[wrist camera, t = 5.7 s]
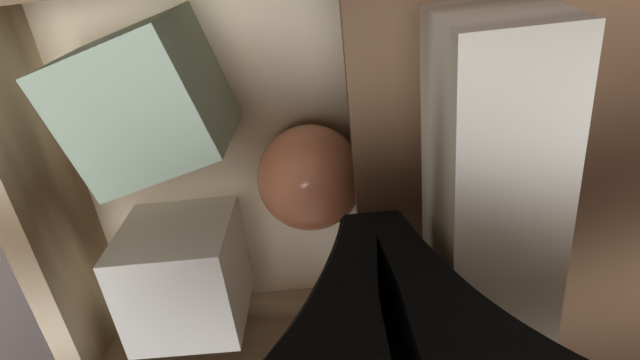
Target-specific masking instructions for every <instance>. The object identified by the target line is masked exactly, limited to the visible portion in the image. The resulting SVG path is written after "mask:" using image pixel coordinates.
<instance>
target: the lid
mask: <svg viewBox="0 0 640 360" xmlns="http://www.w3.org/2000/svg"><path fill="white" fill-rule="evenodd" d="M339 7H340V19H341V31H342V43H343V55H344V67H345V79H346V91H347V103H348V115H349V126H350V138H351V150H352V162H353V174H354V186H355V198H356V210H357V213H368V212H379V211H390V210H398V211H399V212H401V213H402V214H403V216H404V217H405V218H406V219H407V221H408V222H409V223H410V224H411V226H412V227H413V228H414V229H415V230H416V232H417V233H418V234H419V235H420V236H421V237H422V238H423V239H424V241H425V242H426V243H427V244H428V245H429V246H430V247H431V248H432V249H433V250H434V251H435V252H436V253H437V254H438V255H439V256H440V257H441V258H442V259H443V260H444V261H445V262H446V263H447V264H448V265H449V266H450V267H451V268H452V269H453V270H455V271H456V272H457V273H458V274H459V275H460V276H461V277H462V278H464V279H465V280H466V281H467V282H468V283H469V284H470V285H472V286H473V287H474V288H475V289H476V290H478V291H479V292H480V293H481V294H483V295H484V296H485V297H487V298H488V299H489V300H491V301H492V302H493V303H495V304H496V305H498V306H499V307H500V308H502V309H503V310H505V311H506V312H507V313H509V314H510V315H512V316H514V317H515V318H517V319H518V320H520V321H521V322H523V323H524V324H526V325H528V326H529V327H531V328H533V329H535V330H536V331H538V332H540V333H541V334H543V335H545V336H546V337H548V338H550V339H551V340H553V341H555V342H557V343H558V344H560V345H562V346H564V347H566V348H568V349H570V350H571V351H573V352H575V353H577V354H579V355H581V356H583V357H585V358H587V359H589V360H640V0H339Z"/></svg>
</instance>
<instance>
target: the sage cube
mask: <svg viewBox="0 0 640 360" xmlns="http://www.w3.org/2000/svg"><path fill="white" fill-rule="evenodd" d="M16 82H17V83H18V85H19V86H20V88H21V89H22V91H23V92H24V93H25V95H26V96H27V98H28V99H29V101H30V102H31V104H32V105H33V107H34V108H35V110H36V111H37V113H38V114H39V116H40V117H41V119H42V120H43V122H44V123H45V125H46V126H47V127H48V129H49V130H50V132H51V133H52V135H53V136H54V138H55V139H56V141H57V142H58V144H59V145H60V147H61V148H62V150H63V151H64V153H65V154H66V156H67V157H68V159H69V160H70V161H71V163H72V164H73V166H74V167H75V169H76V170H77V172H78V173H79V175H80V176H81V178H82V179H83V181H84V182H85V184H86V185H87V187H88V188H89V190H90V191H91V193H92V194H93V196H94V197H95V198H96V200H97V201H98V203H99V204H100V205H101V204H103V203H106V202H109V201H112V200H114V199H117V198H120V197H123V196H125V195H128V194H131V193H134V192H137V191H139V190H142V189H145V188H148V187H150V186H153V185H156V184H159V183H161V182H164V181H167V180H170V179H172V178H175V177H178V176H181V175H183V174H186V173H189V172H192V171H194V170H197V169H200V168H203V167H205V166H208V165H211V164H214V163H216V162H219V161H222V160H223V158H224V156H225V153H226V151H227V148H228V146H229V144H230V141H231V139H232V136H233V134H234V131H235V129H236V126H237V124H238V121H239V119H240V116H241V114H242V111H241V109H240V107H239V105H238V103H237V101H236V99H235V97H234V94H233V92H232V90H231V88H230V86H229V84H228V82H227V80H226V78H225V76H224V74H223V72H222V69H221V67H220V65H219V63H218V61H217V59H216V57H215V55H214V53H213V51H212V49H211V46H210V44H209V42H208V40H207V38H206V36H205V34H204V32H203V30H202V28H201V26H200V24H199V21H198V19H197V17H196V15H195V13H194V11H193V9H192V7H191V5H190V3H189V1H186V2H184V3H182V4H179V5H177V6H175V7H172V8H170V9H168V10H165V11H163V12H161V13H158V14H156V15H154V16H151V17H149V18H146V19H144V20H142V21H139V22H137V23H135V24H132V25H130V26H128V27H125V28H123V29H121V30H118V31H116V32H114V33H111V34H109V35H106V36H104V37H102V38H99V39H97V40H95V41H92V42H90V43H88V44H85V45H83V46H81V47H79V48H77V49H75V50H73V51H71V52H69V53H67V54H65V55H63V56H61V57H59V58H57V59H55V60H53V61H51V62H49V63H48V64H46V65H44V66H42V67H40V68H38V69H36V70H34V71H32V72H30V73H28V74H26V75H24V76H22V77H20V78H18V79H16Z"/></svg>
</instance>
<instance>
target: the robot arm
mask: <svg viewBox="0 0 640 360" xmlns="http://www.w3.org/2000/svg"><path fill="white" fill-rule="evenodd" d="M263 360H589V359H587V358H585V357H583V356H581V355H579V354H577V353H575V352H573V351H571V350H570V349H568V348H566V347H564V346H562V345H560V344H558V343H557V342H555V341H553V340H551V339H550V338H548V337H546V336H545V335H543V334H541V333H540V332H538V331H536V330H535V329H533V328H531V327H529V326H528V325H526V324H524V323H523V322H521V321H520V320H518V319H517V318H515V317H514V316H512V315H510V314H509V313H507V312H506V311H505V310H503V309H502V308H500V307H499V306H498V305H496V304H495V303H493V302H492V301H491V300H489V299H488V298H487V297H485V296H484V295H483V294H481V293H480V292H479V291H478V290H476V289H475V288H474V287H473V286H472V285H470V284H469V283H468V282H467V281H466V280H465V279H464V278H462V277H461V276H460V275H459V274H458V273H457V272H456V271H455V270H453V269H452V268H451V267H450V266H449V265H448V264H447V263H446V262H445V261H444V260H443V259H442V258H441V257H440V256H439V255H438V254H437V253H436V252H435V251H434V250H433V249H432V248H431V247H430V246H429V245H428V244H427V243H426V242H425V241H424V239H423V238H422V237H421V236H420V235H419V234H418V233H417V232H416V230H415V229H414V228H413V227H412V226H411V224H410V223H409V222H408V221H407V219H406V218H405V217H404V216H403V214H402V213H401V212H399V211H398V210H390V211H379V212H368V213H357V214H346V215H344V216H343V217H342V218H341V219H340V224H339V229H338V233H337V236H336V239H335V242H334V245H333V247H332V250H331V252H330V255H329V257H328V259H327V261H326V264H325V266H324V268H323V270H322V272H321V274H320V276H319V278H318V280H317V282H316V284H315V285H314V287H313V289H312V291H311V293H310V295H309V296H308V298H307V300H306V301H305V303H304V305H303V306H302V308H301V309H300V311H299V312H298V314H297V316H296V317H295V318H294V320H293V321H292V323H291V324H290V326H289V327H288V328H287V330H286V331H285V332H284V334H283V335H282V336H281V337H280V339H279V340H278V341H277V343H276V344H275V345H274V346H273V348H272V349H271V350H270V351H269V353H268V354H267V355H266V356H265V357H264V358H263Z"/></svg>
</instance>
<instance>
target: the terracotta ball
mask: <svg viewBox="0 0 640 360" xmlns="http://www.w3.org/2000/svg"><path fill="white" fill-rule="evenodd" d="M257 185H258V190H259V194H260V197H261V199H262V201H263V203H264V205H265V206H266V208H267V209H268V211H269V212H270V213H271V214H272V215H273V216H274V217H275V218H276V219H277V220H279V221H280V222H282V223H283V224H285V225H287V226H289V227H292V228H295V229H299V230H306V231H315V230H322V229H325V228H328V227H331V226H333V225H335V224H337V223H339V222H340V219H341V218H342V217H343V216H344V215H346V214H349V213H350V212H351V211H352V210H353V208H354V207H355V205H356V198H355V186H354V174H353V162H352V150H351V143H350V142H349V141H348V140H347V139H346V138H345V137H344V136H343V135H341V134H340V133H338V132H337V131H335V130H333V129H331V128H328V127H325V126H321V125H313V124H307V125H299V126H296V127H292V128H290V129H288V130H285V131H284V132H282V133H280V134H279V135H278V136H276V137H275V138H274V139H273V140H272V141H271V142H270V143H269V144H268V146H267V147H266V149H265V150H264V152H263V154H262V156H261V158H260V161H259V164H258V170H257Z"/></svg>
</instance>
